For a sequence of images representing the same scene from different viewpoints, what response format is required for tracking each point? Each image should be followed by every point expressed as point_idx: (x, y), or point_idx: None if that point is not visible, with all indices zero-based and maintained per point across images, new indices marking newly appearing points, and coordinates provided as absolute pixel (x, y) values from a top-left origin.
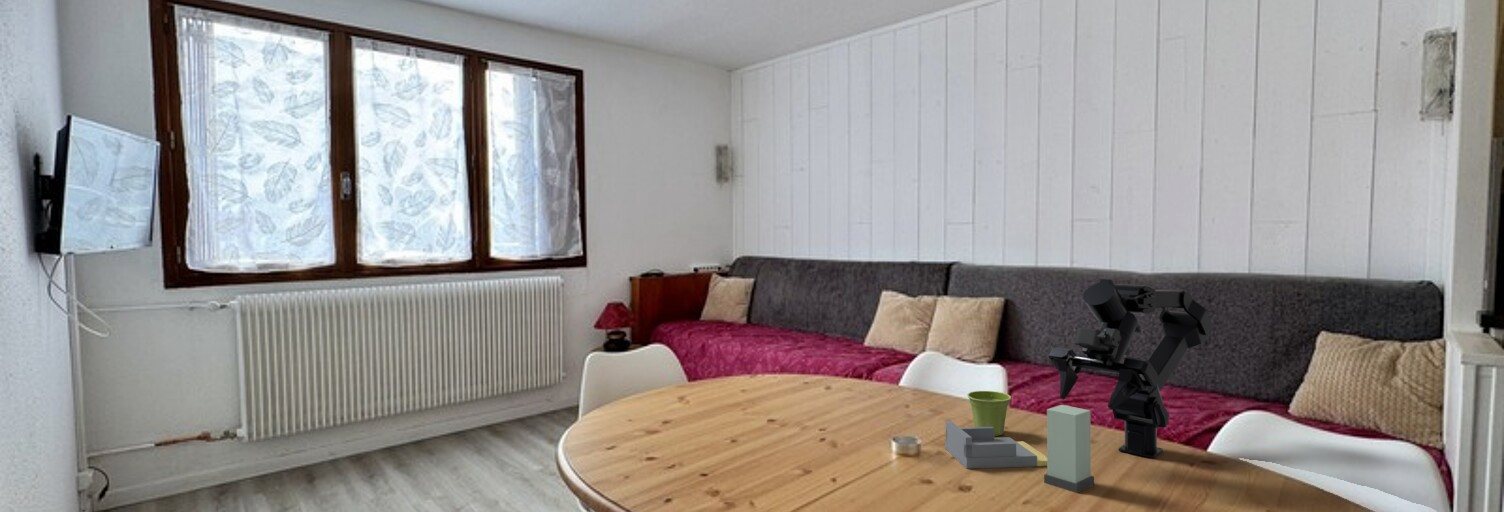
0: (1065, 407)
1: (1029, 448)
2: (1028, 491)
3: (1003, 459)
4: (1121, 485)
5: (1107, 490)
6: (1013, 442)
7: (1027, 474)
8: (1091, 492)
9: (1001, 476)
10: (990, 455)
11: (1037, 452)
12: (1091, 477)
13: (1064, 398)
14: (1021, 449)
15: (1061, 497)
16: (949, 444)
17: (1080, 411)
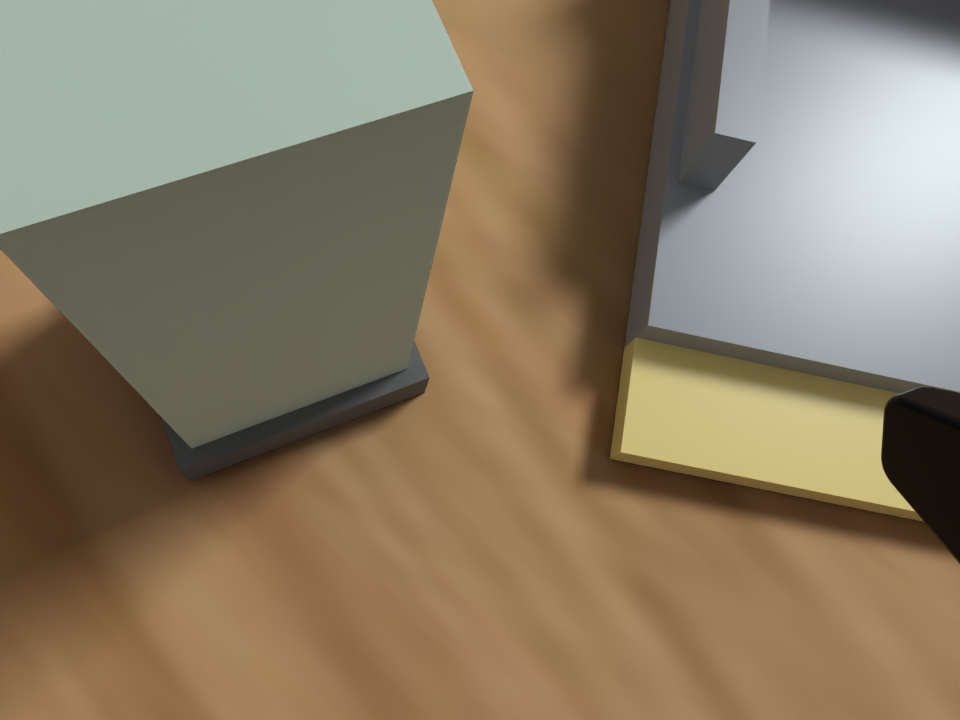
0: (303, 13)
1: None
2: None
3: (671, 98)
4: (103, 677)
5: (66, 493)
6: (742, 130)
7: (501, 187)
8: (81, 357)
9: (513, 22)
10: (702, 8)
11: (810, 471)
12: (172, 438)
13: (898, 482)
14: (808, 315)
15: None
16: None
17: (5, 45)
